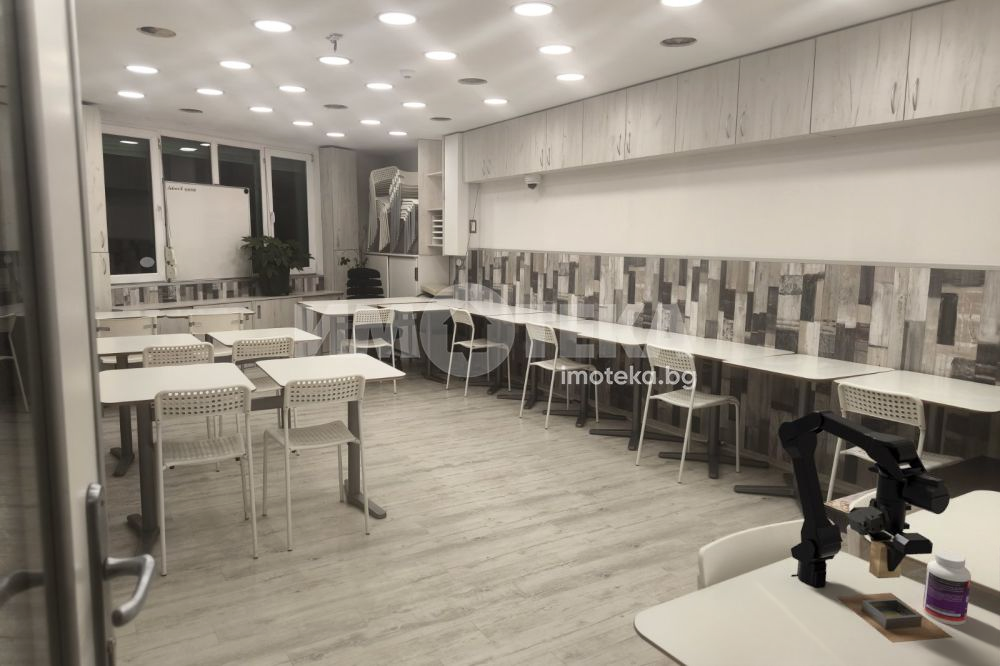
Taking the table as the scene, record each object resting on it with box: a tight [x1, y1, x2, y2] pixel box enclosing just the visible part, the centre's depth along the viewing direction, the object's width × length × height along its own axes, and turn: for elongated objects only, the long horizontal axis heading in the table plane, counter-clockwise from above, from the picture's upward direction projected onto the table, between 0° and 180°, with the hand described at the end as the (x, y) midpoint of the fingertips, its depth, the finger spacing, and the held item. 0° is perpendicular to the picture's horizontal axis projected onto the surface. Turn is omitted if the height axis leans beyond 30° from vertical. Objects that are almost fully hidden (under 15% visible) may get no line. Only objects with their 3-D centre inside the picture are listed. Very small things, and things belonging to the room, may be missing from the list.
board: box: [836, 592, 953, 643], centre depth 150 cm, size 18×14×1 cm
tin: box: [861, 597, 922, 630], centre depth 148 cm, size 7×8×2 cm
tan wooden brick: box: [868, 540, 902, 579], centre depth 147 cm, size 3×5×7 cm, turn 97°
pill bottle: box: [922, 549, 972, 626], centre depth 150 cm, size 8×8×14 cm
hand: (885, 567), depth 147 cm, fingers closed on tan wooden brick, 3 cm apart
